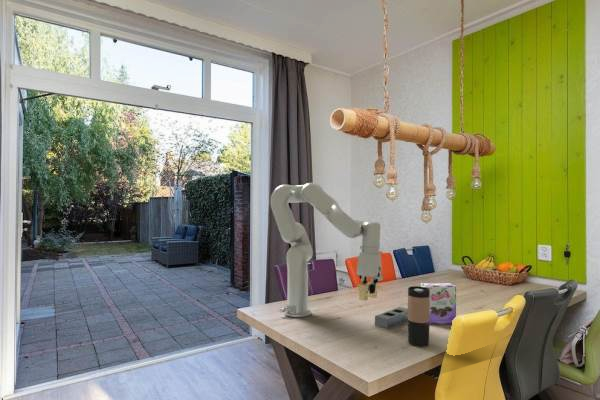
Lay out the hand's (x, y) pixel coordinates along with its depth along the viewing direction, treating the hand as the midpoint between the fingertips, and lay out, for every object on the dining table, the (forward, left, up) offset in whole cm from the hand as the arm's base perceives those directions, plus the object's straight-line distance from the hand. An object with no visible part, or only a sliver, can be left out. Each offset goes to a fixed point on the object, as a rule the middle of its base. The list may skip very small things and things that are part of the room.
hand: (368, 291), depth 159 cm
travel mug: (-9, -28, -13) cm, 32 cm away
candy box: (+20, -22, -13) cm, 33 cm away
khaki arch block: (0, 0, -3) cm, 3 cm away
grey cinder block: (+6, -9, -13) cm, 17 cm away
